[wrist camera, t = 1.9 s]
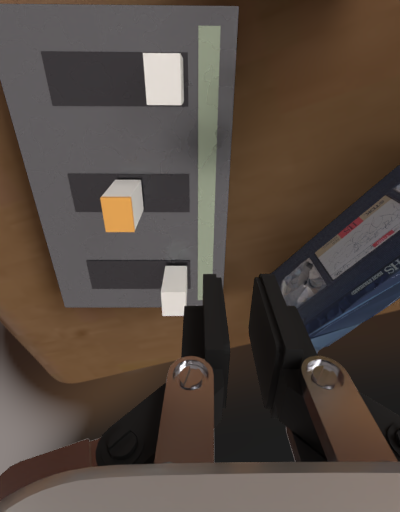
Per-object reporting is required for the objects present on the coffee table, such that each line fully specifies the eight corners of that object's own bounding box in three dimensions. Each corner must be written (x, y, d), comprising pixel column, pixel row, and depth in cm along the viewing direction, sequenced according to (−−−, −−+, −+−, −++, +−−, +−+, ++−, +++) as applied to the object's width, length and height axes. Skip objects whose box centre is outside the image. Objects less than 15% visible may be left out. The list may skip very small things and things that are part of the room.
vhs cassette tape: (426, 139, 26) (543, 168, 17) (442, 163, 27) (560, 201, 18) (264, 272, 32) (289, 341, 24) (282, 287, 33) (312, 359, 25)
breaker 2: (187, 265, 28) (185, 292, 24) (187, 287, 29) (186, 315, 25) (165, 265, 28) (160, 292, 24) (166, 287, 29) (162, 315, 25)
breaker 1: (183, 58, 20) (180, 53, 16) (183, 101, 21) (181, 105, 17) (152, 58, 19) (142, 53, 16) (155, 101, 21) (146, 105, 17)
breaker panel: (233, 15, 21) (239, 5, 18) (220, 289, 33) (222, 307, 30) (5, 13, 21) (-23, 3, 18) (75, 289, 33) (64, 308, 30)
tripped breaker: (140, 179, 24) (130, 198, 20) (143, 209, 25) (134, 232, 21) (115, 179, 23) (100, 197, 20) (119, 209, 25) (105, 232, 21)
